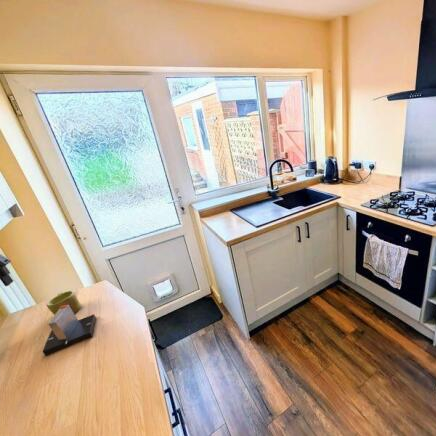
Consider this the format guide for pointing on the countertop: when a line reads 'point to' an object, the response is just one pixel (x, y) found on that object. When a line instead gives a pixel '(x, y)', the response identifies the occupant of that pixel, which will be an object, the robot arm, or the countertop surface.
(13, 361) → the countertop surface
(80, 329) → the base
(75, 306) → the mug
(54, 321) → the tap handle
